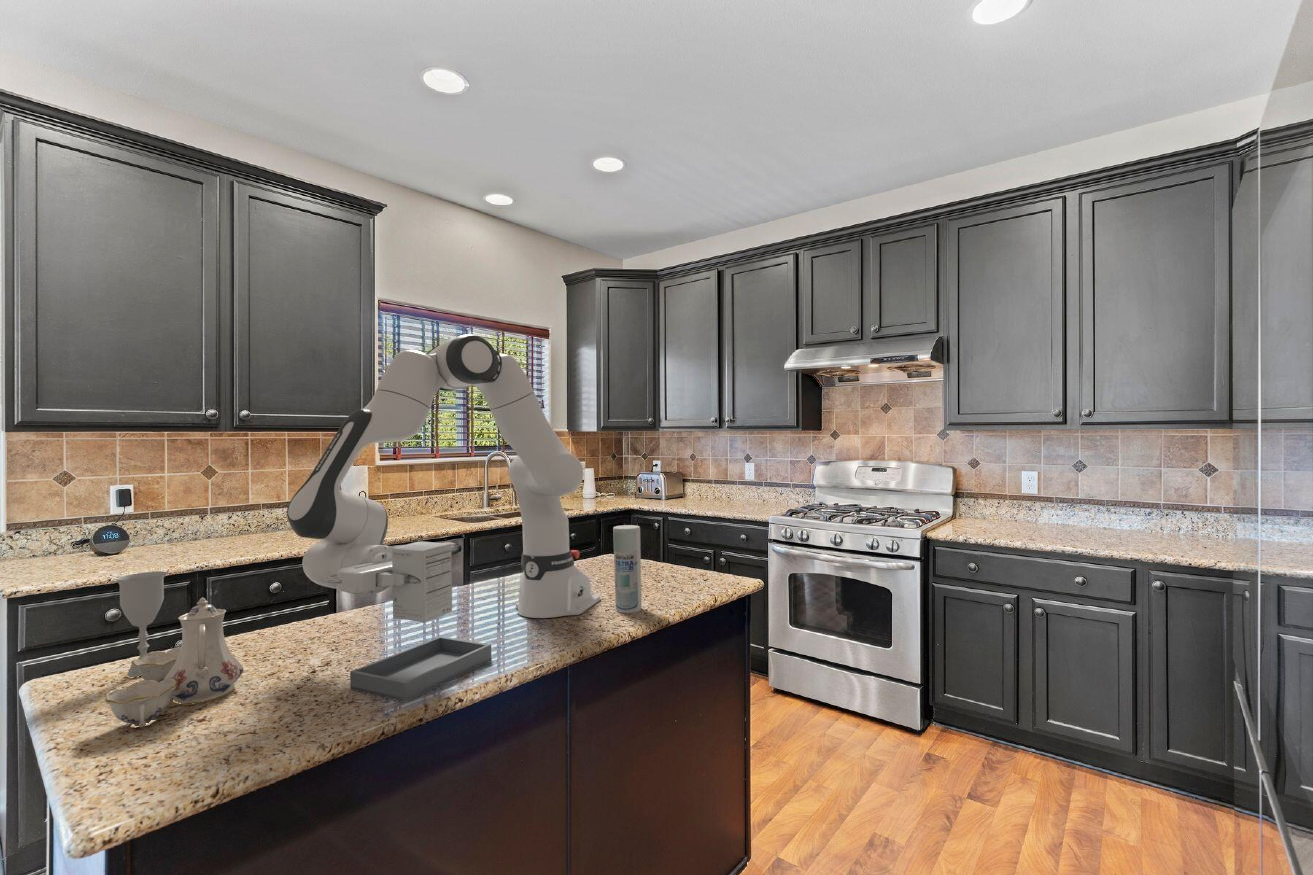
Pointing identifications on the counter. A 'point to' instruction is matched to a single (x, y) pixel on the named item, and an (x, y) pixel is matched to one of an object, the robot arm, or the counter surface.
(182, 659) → the chinaware
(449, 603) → the supplement box
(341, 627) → the counter surface
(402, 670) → the tray
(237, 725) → the counter surface
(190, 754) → the counter surface
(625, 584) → the spray can
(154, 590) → the chalice
